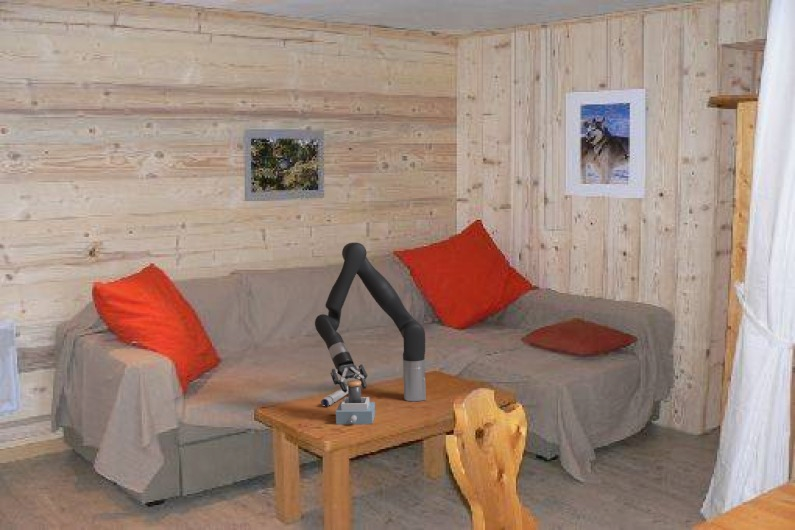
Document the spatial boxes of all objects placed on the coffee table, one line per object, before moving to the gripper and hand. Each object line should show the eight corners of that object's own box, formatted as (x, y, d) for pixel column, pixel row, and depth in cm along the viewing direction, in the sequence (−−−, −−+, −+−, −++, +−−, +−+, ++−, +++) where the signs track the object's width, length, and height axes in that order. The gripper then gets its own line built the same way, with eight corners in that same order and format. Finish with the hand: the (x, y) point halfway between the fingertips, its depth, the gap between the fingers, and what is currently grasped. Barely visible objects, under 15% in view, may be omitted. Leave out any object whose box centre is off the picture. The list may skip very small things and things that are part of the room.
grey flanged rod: (318, 398, 372) (351, 377, 393) (320, 412, 374) (353, 391, 395) (329, 399, 370) (361, 378, 390) (331, 414, 371) (363, 392, 392)
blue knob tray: (375, 414, 359) (374, 395, 358) (371, 426, 342) (370, 407, 341) (340, 414, 360) (340, 396, 359) (335, 426, 343) (334, 407, 342)
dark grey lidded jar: (362, 404, 354) (361, 380, 353) (361, 408, 349) (360, 383, 348) (349, 405, 355) (348, 380, 354) (347, 408, 349) (346, 383, 348)
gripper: (327, 353, 353) (342, 387, 345) (359, 348, 361) (374, 381, 352) (322, 364, 358) (336, 397, 350) (353, 359, 366) (368, 392, 357)
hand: (355, 389), depth 351 cm, fingers open, 8 cm apart
